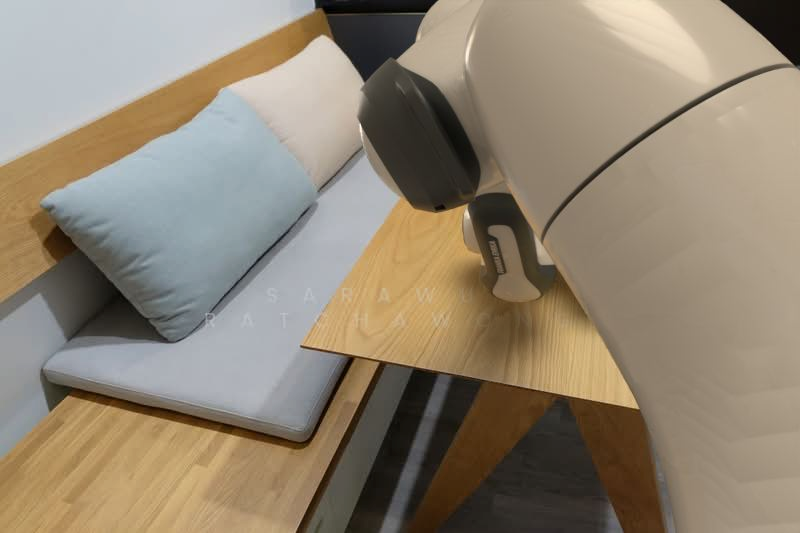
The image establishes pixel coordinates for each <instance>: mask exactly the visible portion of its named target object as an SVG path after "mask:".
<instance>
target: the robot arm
mask: <svg viewBox="0 0 800 533" xmlns="http://www.w3.org/2000/svg"><path fill="white" fill-rule="evenodd" d="M354 112H355V116H356V119H357V120H358V128H359V134H360V141H361V145H362V148H363V152H364V153H365V155H366V156H365V157H366V159H367V160H368V163H369V164H370V167H371V169H372V171H373V172H374V173H375V175H376V176H377V177H378V179H380V181H381V182H382V183H383V184H384V185H385V186H386V187H387V188H388V190H390V191H391V192H392V193H394V194H395V195H396V196H398V197H399V198H400V199H402V200H404V201H405V202H407V203H408V204H409V205H410V206H411V207H412V209H414V210H416V211H423V212H427V213H433V214H439V213H444V212H447V211H450V210H455V209H457V208H460V207H463V206H465V209H464V212H463V215H462V223H461V224H462V225H461V227H462V228H461V229H462V230H461V232H462V237H463V239H462V240H463V244H464V245H465V247H466V250H467V251H468V252H470V253H473V254H477V255H481V258H480V259H481V260H480V266H479V275H478V281H479V282H480V284H481V285H482V286H483V288H484V289H485V290H486V291H487V292H488V293H489V294H490V295H491V296H492V297H494V298H496V299H498V300H501V301H505V302H511V303H528V302H534V301H538V300H540V299H541V298H543V297H544V296H545V295H547V293H548V292H550V290H551V289H552V288H553V287H554V286H555V285H556V284H557V283H558V277H557V276H558V275H557V274H558V273H557V271H558V272H559V273H560V275H561V276H562V278H563V279H564V281H565V283H566V284H567V285H568V288H569V289H570V291H571V292H572V294H573V295H574V297H575V298H576V300H577V302H578V303H579V305H580V307H581V308H582V310H583V311H584V313H585V315H586V316H587V319H588V320H589V322H590V323H591V325H592V326H593V328H594V330H595V332H596V333H597V335H598V337H599V338H600V340H601V342H602V343H603V345H604V346H605V348H606V350H607V351H608V353H609V355H610V357H611V359H612V360H613V362H614V364H615V366H616V368H617V369H618V371H619V373H620V375H621V376H622V378H623V380H624V382H625V383H626V385H627V387H628V389H629V391H630V392H631V394H632V397H633V398H634V400H635V403H636V405H637V406H638V410H639V411H640V414H641V416H642V418H643V420H644V422H645V425H646V427H647V430H648V433H649V435H650V438H651V441H652V444H653V447H654V450H655V452H656V456H657V459H658V461H659V465H660V469H661V472H662V476H663V481H664V484H665V487H666V491H667V496H668V501H669V502H668V503H669V505H670V506H669V507H670V511H671V517H672V520H673V527H674V533H800V69H799V68H798V67H796V66H795V64H794V63H793V62H791V60H789V59H788V58H787V57H786V56H785V55H784V54H782V52H781V51H779V50H778V49H777V47H775V46H774V45H773V44H772V43H771V42H770V41H769V40H768V39H767V38H766V37H765V36H764V35H763V34H762V33H761V32H760V31H758V30H757V29H756V28H754V27H753V25H751V24H750V23H748V22H747V21H746V20H745V19H744V18H742V17H741V15H739V14H738V13H736V11H734V10H733V9H732V8H730V7H729V6H728V5H727V4H726V3H724V2H723V1H722V0H437V1H436V2H434V4H433V5H431V7H430V8H429V9H428V11H427V12H426V13H425V15H424V17H423V18H422V20H421V23H420V24H419V27H418V29H417V33H416V36H415V42H414V43H413V44H412V45H411V46H410V47H409V48H408V49H406V50H405V51H404V52H403V53H402V54H401V55H399V57H397V59H395V58H393V57H392V56H391V57H389V58H388V59H387V60H385V62H384V63H382V64H381V65H380V66H379V67H378V68H377V69H376V70H375V71H374V72H373V73H372V74H371V76H370V77H369V78H368V79H367V80H366V81H365V82H364V83H363V85H362V86H361V87H360V89H359V93H358V97H357V102H356V107H355V111H354Z"/></svg>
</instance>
